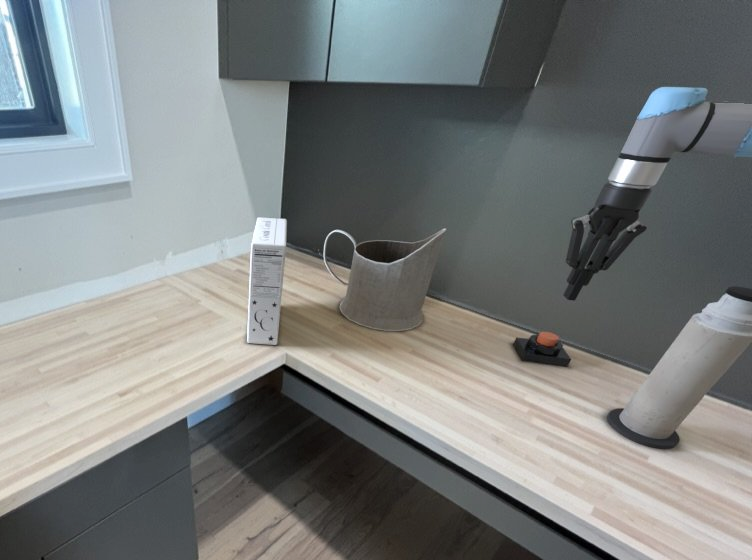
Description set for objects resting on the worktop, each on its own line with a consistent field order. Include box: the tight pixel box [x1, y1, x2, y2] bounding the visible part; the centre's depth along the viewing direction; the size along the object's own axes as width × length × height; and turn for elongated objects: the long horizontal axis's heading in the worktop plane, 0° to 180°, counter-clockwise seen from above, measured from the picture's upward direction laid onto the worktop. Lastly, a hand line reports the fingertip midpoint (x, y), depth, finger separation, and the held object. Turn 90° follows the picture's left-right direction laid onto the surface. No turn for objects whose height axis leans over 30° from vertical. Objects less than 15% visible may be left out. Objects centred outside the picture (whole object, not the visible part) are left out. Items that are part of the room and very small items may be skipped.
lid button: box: [536, 331, 560, 347], centre depth 101 cm, size 4×4×2 cm
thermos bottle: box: [619, 285, 752, 439], centre depth 73 cm, size 8×8×28 cm
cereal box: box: [246, 217, 288, 346], centre depth 106 cm, size 22×8×25 cm, turn 174°
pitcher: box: [323, 228, 447, 332], centre depth 116 cm, size 23×32×25 cm
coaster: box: [606, 407, 681, 450], centre depth 82 cm, size 11×11×1 cm
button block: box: [512, 333, 572, 368], centre depth 103 cm, size 10×8×4 cm
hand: (569, 297), depth 95 cm, fingers closed
